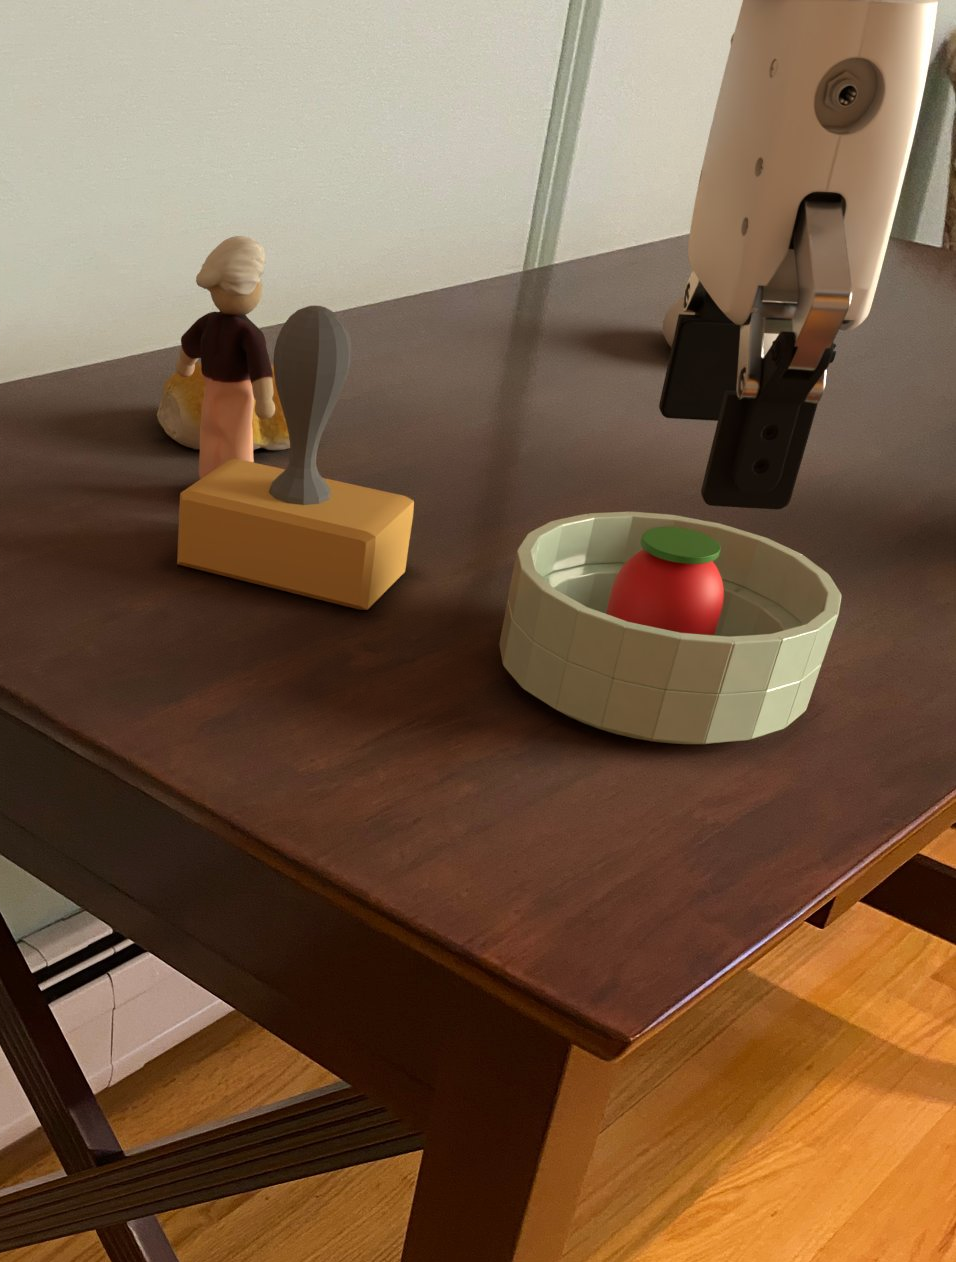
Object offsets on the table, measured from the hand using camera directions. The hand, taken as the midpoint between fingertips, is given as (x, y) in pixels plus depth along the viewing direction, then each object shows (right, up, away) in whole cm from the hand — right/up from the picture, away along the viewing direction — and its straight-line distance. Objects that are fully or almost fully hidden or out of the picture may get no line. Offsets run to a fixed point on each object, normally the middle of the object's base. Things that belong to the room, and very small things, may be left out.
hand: (718, 458), depth 60 cm
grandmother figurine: (-20, +5, +21) cm, 29 cm away
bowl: (-1, -8, +6) cm, 10 cm away
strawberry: (-1, -7, +6) cm, 9 cm away
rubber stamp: (-16, -1, +13) cm, 21 cm away
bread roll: (-19, +12, +28) cm, 36 cm away
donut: (+17, +24, +47) cm, 55 cm away
